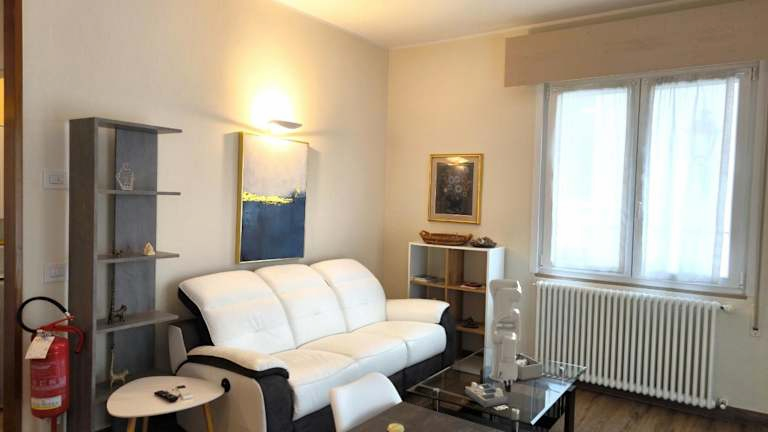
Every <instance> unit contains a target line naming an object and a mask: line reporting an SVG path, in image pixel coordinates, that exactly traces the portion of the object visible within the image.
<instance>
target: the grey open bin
mask: <svg viewBox="0 0 768 432" xmlns="http://www.w3.org/2000/svg"><path fill="white" fill-rule="evenodd" d="M521 353H522V352H516V356H517V358H516V361H517V360H518V358H519V357H521V356H520V354H521ZM522 356H523V357H524V358H527V360H528V366H521V365H519V364H517V369H518V376H517V379H519V380H521V381H525V380H530V379H535V378H536V379H537V378H542V377H543V363H542V362H540V361H538V360H536V359H533V358H532V357H529V356H528V355H525V354H524V353H523V354H522Z"/></svg>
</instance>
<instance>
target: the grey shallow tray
mask: <svg viewBox="0 0 768 432" xmlns="http://www.w3.org/2000/svg"><path fill="white" fill-rule="evenodd" d="M478 386H482V387H483V388H484V393H486V394H483V395H478V394H477V393H476V392H478V390H477V391H472V390H471V389H470V388H472V385H470V386H465V387H464V393H466V394H465V395H467V396H468V397H470V398H471V399H473V400H474V401H475V402H476V403H478V404H479V405H481V406H482V407H484V408H490V407H496V406H501V405H505V404H509V402H510V401H509V400H510V399H509V398H510V396H509V395H507V394H506V393H504V392H502V394H503V395H504V396H502V397H497V398H494V394H496V387H495V386H493V385H492V384H490V383H488V382H487V383H482V384H478ZM477 388H478V387H477Z"/></svg>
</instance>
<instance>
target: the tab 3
mask: <svg viewBox="0 0 768 432" xmlns="http://www.w3.org/2000/svg"><path fill="white" fill-rule="evenodd" d="M495 388H496V387H495ZM502 393H503V389H502V388H500V387H498V388H496V394H494V398H497V397H502V396H504V395H503V394H502Z"/></svg>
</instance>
